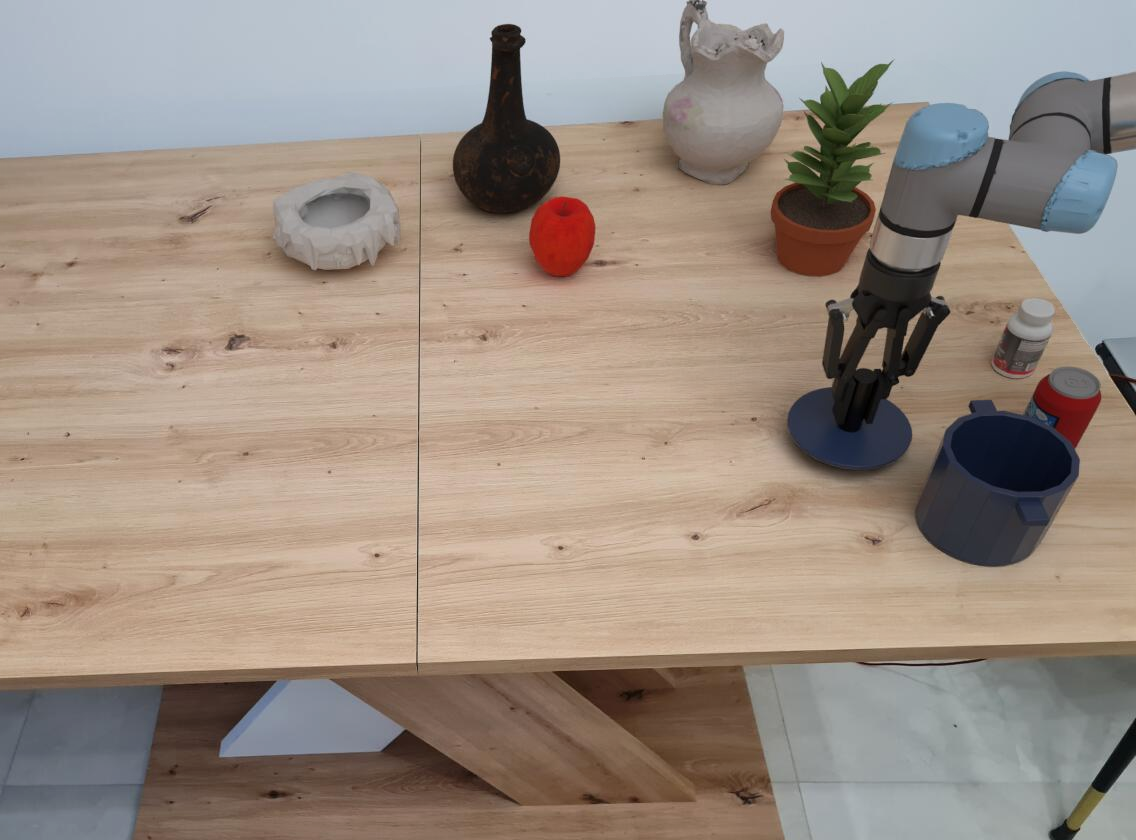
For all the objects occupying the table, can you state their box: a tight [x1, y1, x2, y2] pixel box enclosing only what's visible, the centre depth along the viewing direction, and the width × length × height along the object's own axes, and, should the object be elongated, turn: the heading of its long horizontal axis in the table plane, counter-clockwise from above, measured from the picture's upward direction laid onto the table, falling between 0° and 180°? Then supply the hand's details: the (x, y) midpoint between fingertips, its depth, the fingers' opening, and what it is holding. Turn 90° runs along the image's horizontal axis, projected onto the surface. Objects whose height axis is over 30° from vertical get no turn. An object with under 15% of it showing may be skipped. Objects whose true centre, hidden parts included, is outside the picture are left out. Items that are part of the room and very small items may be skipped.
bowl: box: [272, 171, 401, 271], centre depth 167 cm, size 21×20×10 cm
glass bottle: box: [452, 23, 561, 214], centre depth 168 cm, size 18×18×28 cm
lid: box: [786, 367, 913, 471], centre depth 129 cm, size 15×15×9 cm
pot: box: [914, 399, 1081, 568], centre depth 119 cm, size 14×19×12 cm
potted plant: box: [770, 59, 895, 277], centre depth 149 cm, size 15×15×30 cm
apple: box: [528, 196, 597, 277], centre depth 158 cm, size 10×10×12 cm
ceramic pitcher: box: [662, 0, 785, 186], centre depth 172 cm, size 22×20×25 cm
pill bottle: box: [990, 297, 1056, 379], centre depth 137 cm, size 5×5×10 cm
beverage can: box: [1022, 366, 1102, 450], centre depth 125 cm, size 7×7×12 cm
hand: (852, 416), depth 130 cm, fingers closed on lid, 3 cm apart
